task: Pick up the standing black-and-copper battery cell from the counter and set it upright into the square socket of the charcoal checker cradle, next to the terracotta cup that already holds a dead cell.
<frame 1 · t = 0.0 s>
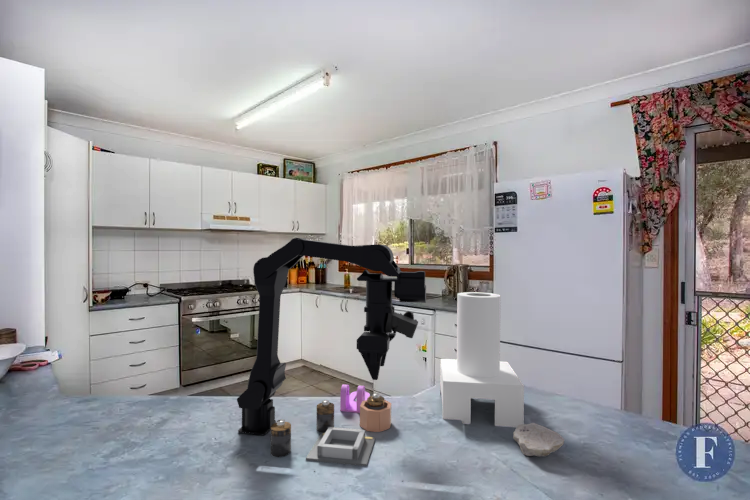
hand: (378, 372, 83), 15 cm above the counter, fingers open, 9 cm apart
cell: (325, 432, 87), on the counter
cradle: (342, 453, 78), on the counter
cup: (375, 427, 89), on the counter
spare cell: (280, 455, 77), on the counter
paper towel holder: (477, 409, 100), on the counter
bracket: (356, 405, 102), on the counter
fossil: (538, 453, 79), on the counter
dead cell: (375, 424, 89), point 1 cm above the counter, touching cup
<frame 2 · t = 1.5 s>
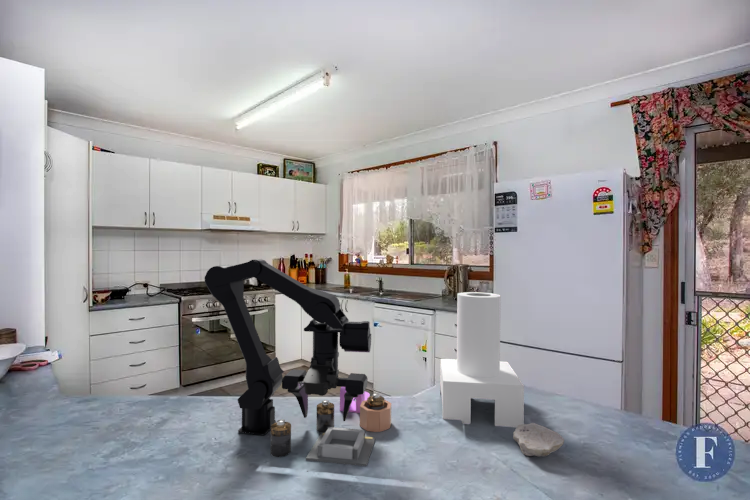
hand: (324, 418, 87), 3 cm above the counter, fingers open, 9 cm apart
nothing on the counter moved.
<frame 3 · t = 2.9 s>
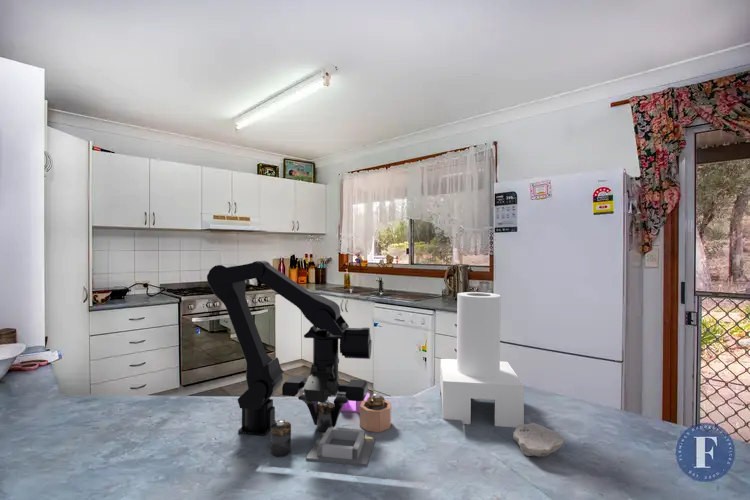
hand: (325, 425, 87), 2 cm above the counter, fingers closed on cell, 4 cm apart
cell: (325, 431, 87), on the counter, touching gripper
everything else where it was.
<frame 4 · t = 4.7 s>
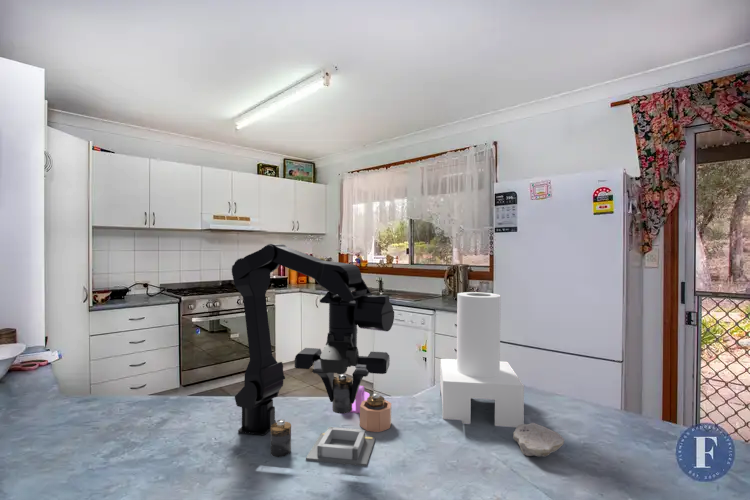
hand: (342, 402, 78), 10 cm above the counter, fingers closed on cell, 4 cm apart
cell: (342, 409, 78), point 9 cm above the counter, touching gripper
everything else where it was.
when the fingers open (4 cm above the counter, at t = 6.5 s): cell drops 1 cm, resting on cradle.
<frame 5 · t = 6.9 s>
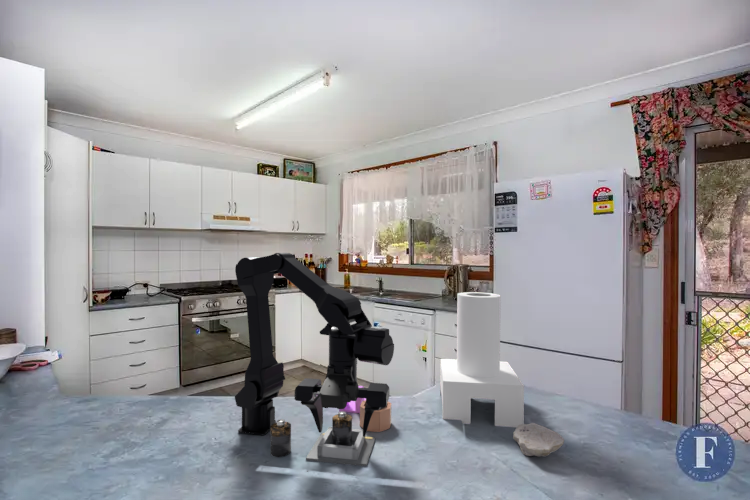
hand: (342, 433, 78), 4 cm above the counter, fingers open, 9 cm apart
cell: (342, 447, 78), point 1 cm above the counter, touching cradle
everything else where it was.
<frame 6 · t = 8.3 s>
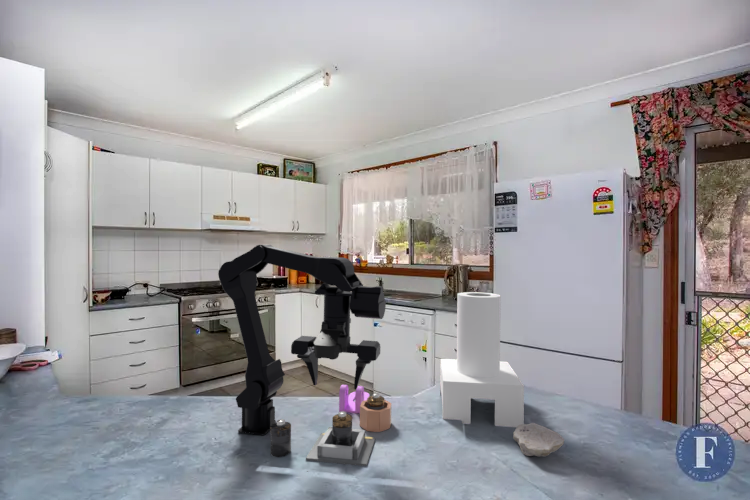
hand: (335, 386, 83), 12 cm above the counter, fingers open, 9 cm apart
nothing on the counter moved.
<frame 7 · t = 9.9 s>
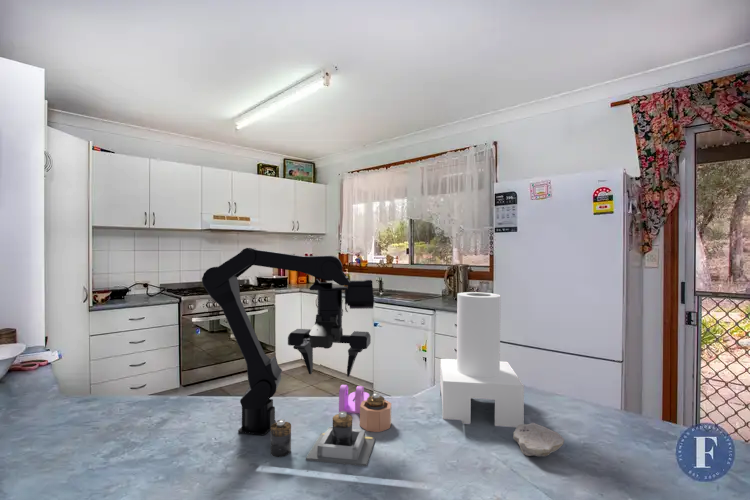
hand: (329, 375, 89), 12 cm above the counter, fingers open, 9 cm apart
nothing on the counter moved.
at the end: cell 0.1 cm off-centre on the cradle, point 1.2 cm above the cradle's base; cell tilted 0°; the gripper is holding nothing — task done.
